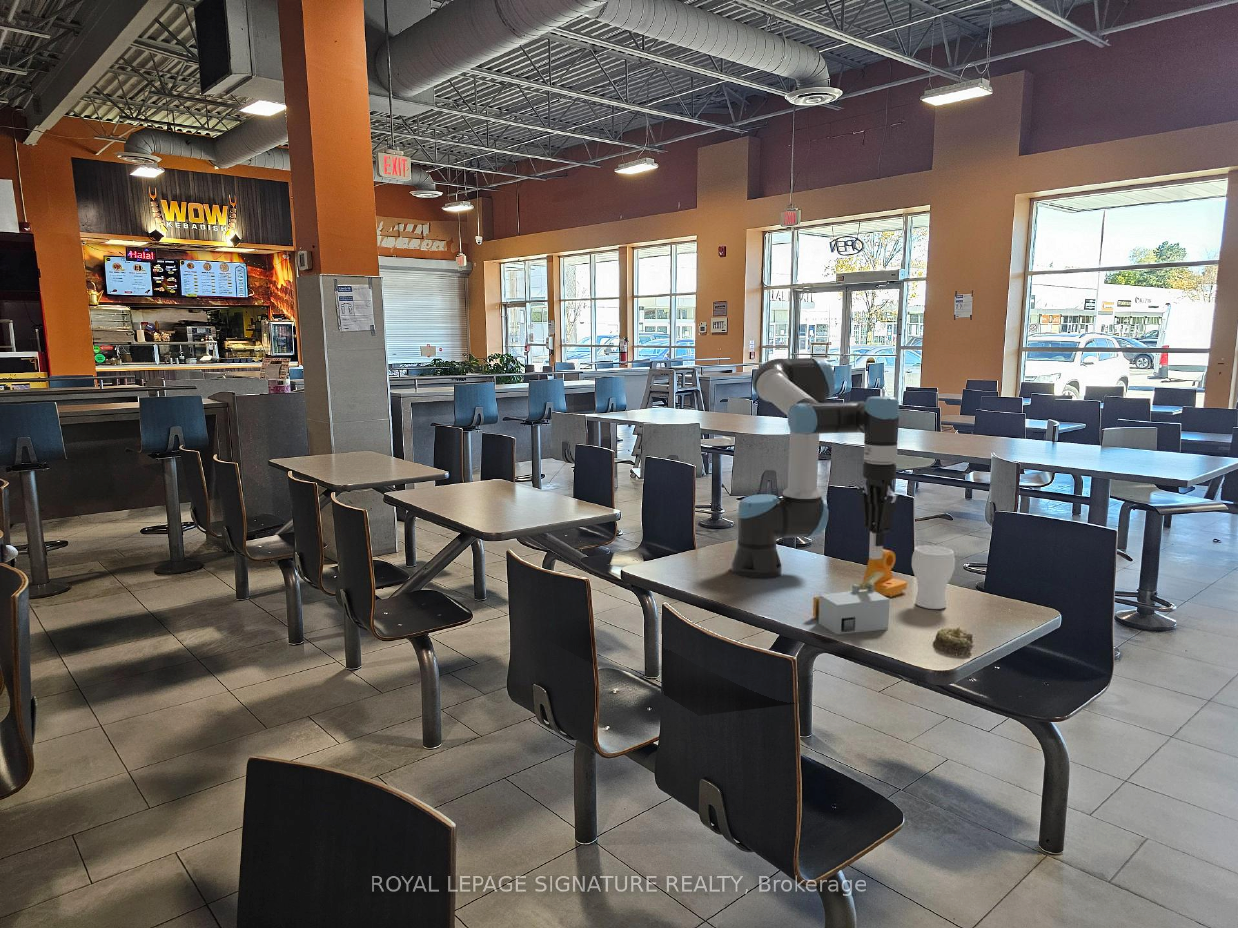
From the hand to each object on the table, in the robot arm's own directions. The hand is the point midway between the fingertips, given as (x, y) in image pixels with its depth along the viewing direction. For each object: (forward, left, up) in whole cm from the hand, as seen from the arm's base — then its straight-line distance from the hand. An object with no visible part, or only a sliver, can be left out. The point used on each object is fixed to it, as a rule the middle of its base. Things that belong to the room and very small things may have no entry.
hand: (875, 557), depth 190 cm
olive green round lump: (+17, +11, -18) cm, 27 cm away
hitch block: (-2, -4, -18) cm, 19 cm away
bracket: (-24, +20, -18) cm, 36 cm away
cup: (-11, +25, -18) cm, 33 cm away
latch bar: (-5, 0, -9) cm, 10 cm away
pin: (-10, -8, -18) cm, 22 cm away
